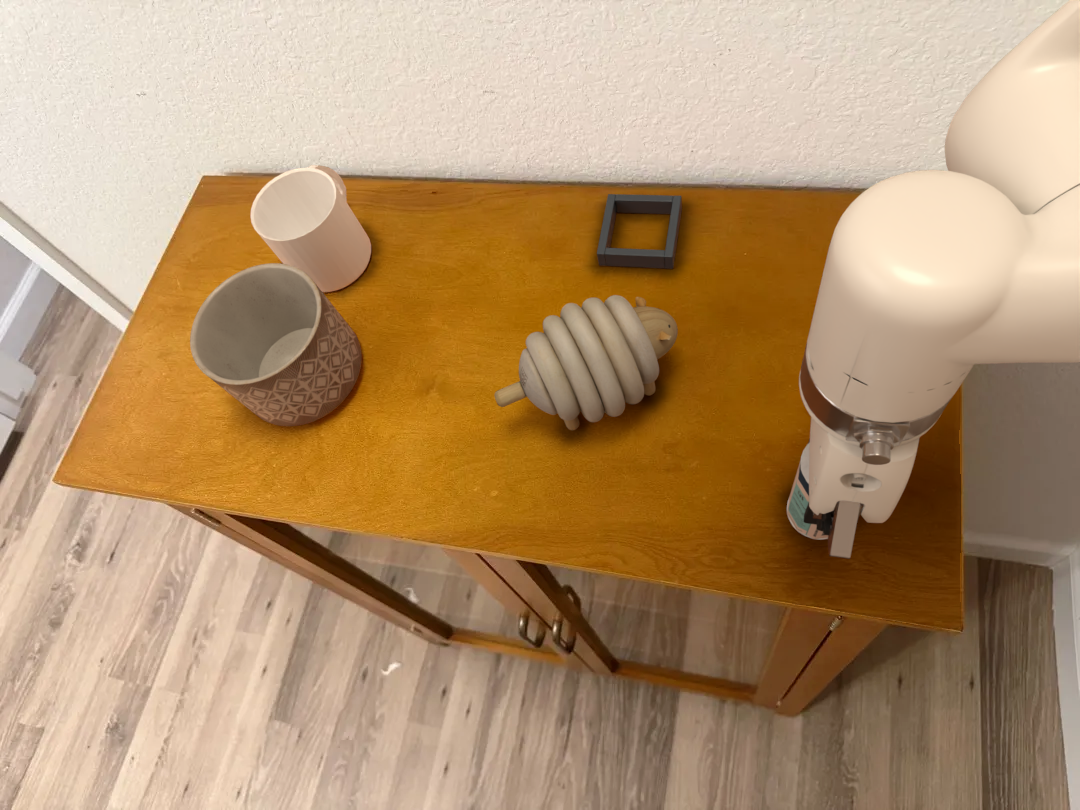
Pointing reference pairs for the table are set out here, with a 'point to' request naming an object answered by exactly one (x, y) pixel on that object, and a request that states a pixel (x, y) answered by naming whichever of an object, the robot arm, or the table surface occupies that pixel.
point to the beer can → (802, 500)
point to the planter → (276, 344)
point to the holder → (639, 256)
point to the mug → (312, 226)
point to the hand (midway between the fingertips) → (828, 485)
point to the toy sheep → (593, 359)
